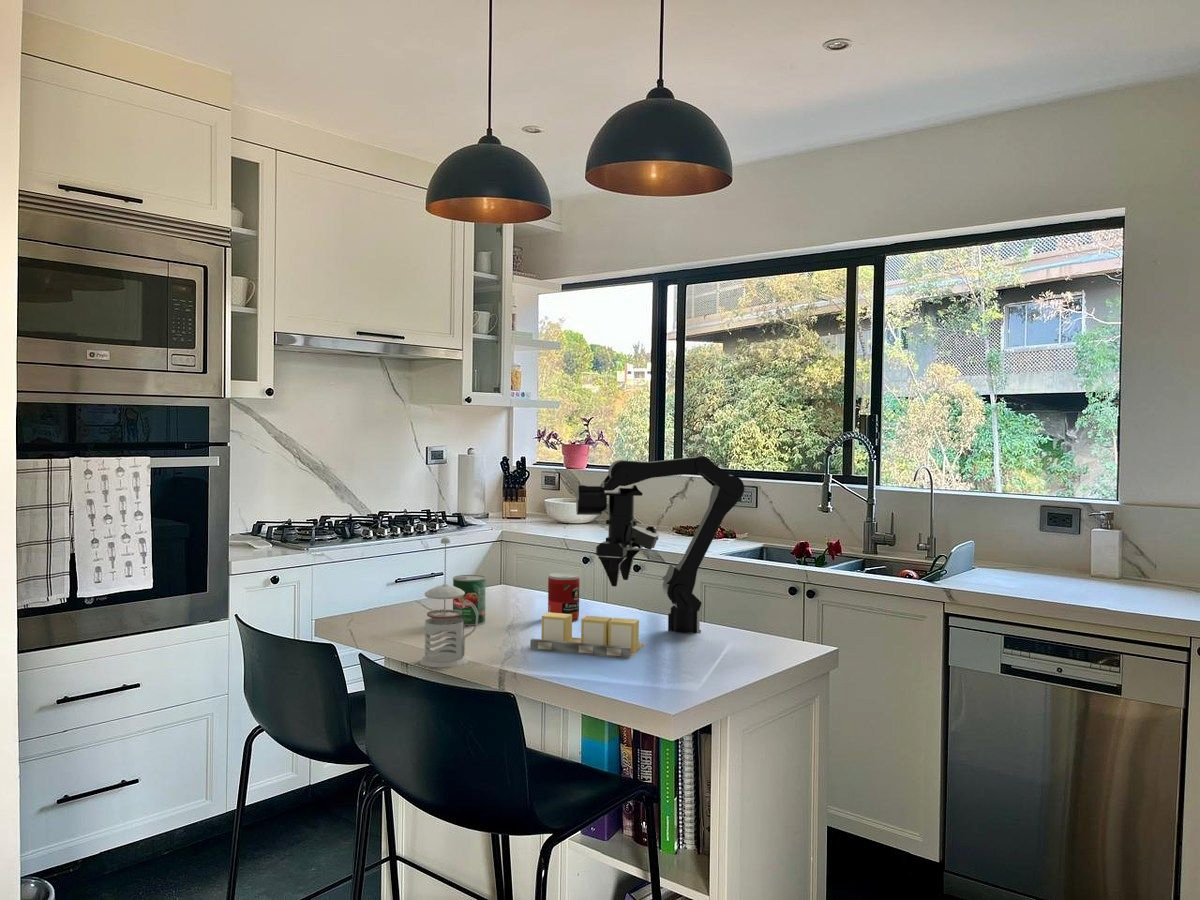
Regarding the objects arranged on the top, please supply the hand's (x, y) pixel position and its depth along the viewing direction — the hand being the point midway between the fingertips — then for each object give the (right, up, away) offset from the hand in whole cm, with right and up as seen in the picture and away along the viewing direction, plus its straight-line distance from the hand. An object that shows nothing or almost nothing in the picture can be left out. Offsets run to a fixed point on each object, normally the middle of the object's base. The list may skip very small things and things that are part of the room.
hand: (620, 583), depth 203 cm
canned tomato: (-36, -12, +12) cm, 40 cm away
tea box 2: (0, -11, -17) cm, 20 cm away
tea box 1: (-5, -11, -15) cm, 19 cm away
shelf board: (-7, -12, -15) cm, 20 cm away
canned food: (-14, -12, +17) cm, 25 cm away
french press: (-35, -12, -24) cm, 44 cm away
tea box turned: (-14, -11, -12) cm, 21 cm away
